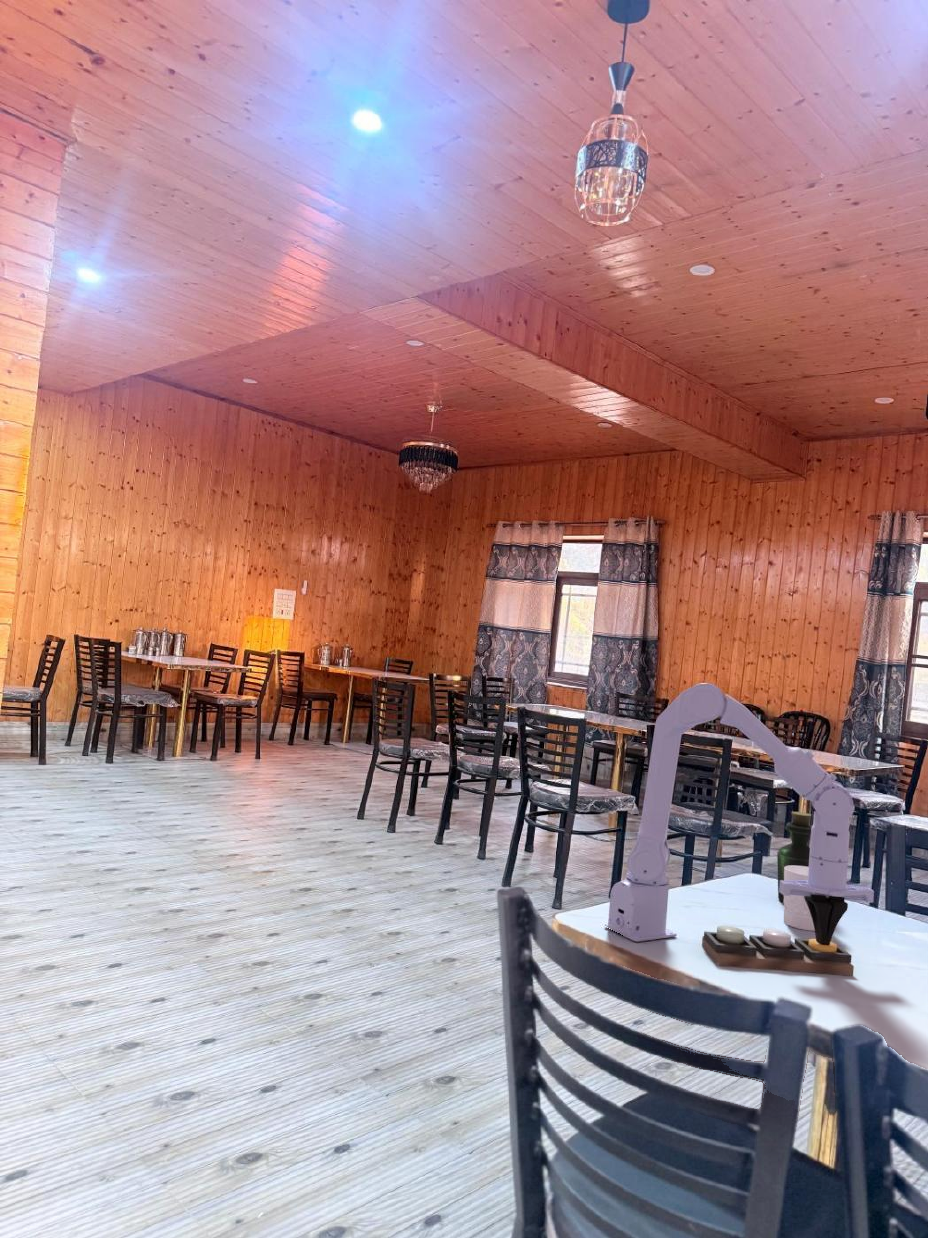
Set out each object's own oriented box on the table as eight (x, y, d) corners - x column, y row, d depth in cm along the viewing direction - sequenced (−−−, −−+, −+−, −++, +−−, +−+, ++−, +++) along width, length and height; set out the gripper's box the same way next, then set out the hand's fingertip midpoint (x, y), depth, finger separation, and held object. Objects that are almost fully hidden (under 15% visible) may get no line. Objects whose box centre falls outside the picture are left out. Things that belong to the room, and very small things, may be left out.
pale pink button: (768, 946, 136) (768, 937, 136) (758, 937, 140) (759, 928, 140) (794, 948, 136) (795, 939, 136) (784, 939, 140) (784, 930, 140)
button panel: (717, 965, 133) (719, 947, 133) (700, 945, 142) (701, 929, 142) (854, 976, 134) (855, 958, 134) (828, 955, 143) (829, 939, 143)
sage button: (721, 942, 136) (721, 933, 136) (712, 933, 140) (713, 925, 140) (747, 944, 136) (748, 935, 136) (738, 935, 140) (739, 927, 140)
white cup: (822, 935, 154) (825, 879, 154) (776, 925, 158) (780, 870, 158) (829, 925, 160) (833, 871, 161) (785, 915, 164) (789, 863, 165)
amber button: (814, 955, 136) (815, 946, 136) (803, 946, 140) (804, 937, 140) (841, 957, 136) (841, 948, 136) (829, 948, 140) (829, 939, 140)
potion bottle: (774, 904, 172) (781, 814, 173) (773, 894, 180) (779, 808, 180) (818, 911, 170) (824, 819, 170) (815, 901, 177) (821, 813, 178)
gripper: (794, 860, 135) (787, 948, 134) (885, 867, 135) (879, 955, 134) (776, 850, 142) (770, 933, 141) (863, 857, 142) (858, 940, 141)
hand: (822, 943), depth 138 cm, fingers closed
